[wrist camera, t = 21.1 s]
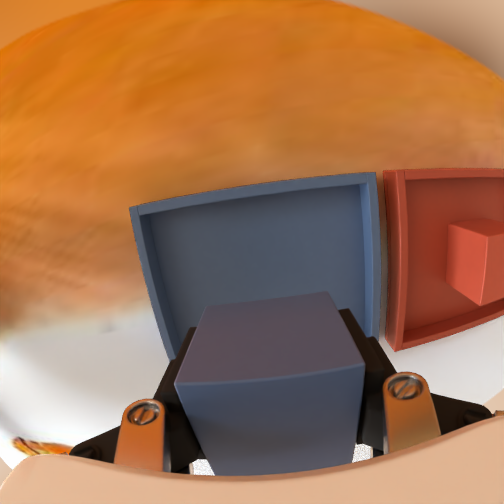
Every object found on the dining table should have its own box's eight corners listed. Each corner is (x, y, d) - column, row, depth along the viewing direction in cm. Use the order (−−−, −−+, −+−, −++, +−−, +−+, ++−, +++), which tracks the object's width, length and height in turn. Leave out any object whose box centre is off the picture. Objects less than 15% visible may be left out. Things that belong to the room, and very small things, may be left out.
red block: (445, 282, 18) (479, 306, 13) (447, 222, 17) (487, 236, 12) (483, 272, 17) (518, 292, 13) (487, 218, 16) (525, 229, 12)
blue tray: (182, 364, 20) (176, 380, 18) (141, 204, 17) (128, 207, 15) (368, 342, 20) (377, 356, 18) (363, 172, 17) (375, 172, 15)
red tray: (384, 338, 19) (394, 352, 17) (382, 170, 16) (395, 170, 14) (505, 300, 19) (518, 309, 17) (513, 169, 16) (528, 170, 14)
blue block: (227, 394, 12) (214, 477, 7) (205, 305, 10) (172, 383, 6) (330, 383, 11) (352, 463, 7) (328, 289, 10) (366, 363, 6)
